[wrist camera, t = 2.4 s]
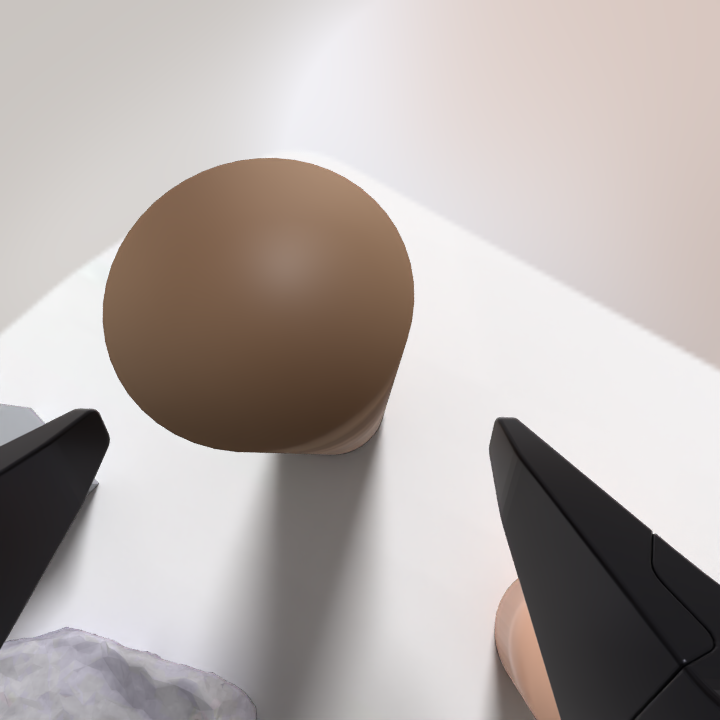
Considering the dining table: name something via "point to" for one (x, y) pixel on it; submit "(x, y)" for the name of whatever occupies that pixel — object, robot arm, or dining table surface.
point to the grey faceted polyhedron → (20, 425)
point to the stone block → (108, 683)
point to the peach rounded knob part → (523, 654)
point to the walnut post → (261, 309)
